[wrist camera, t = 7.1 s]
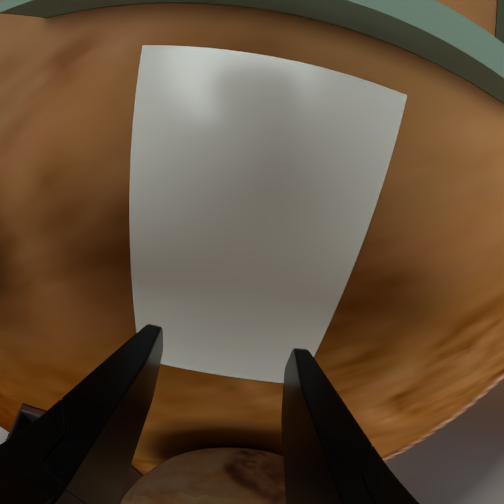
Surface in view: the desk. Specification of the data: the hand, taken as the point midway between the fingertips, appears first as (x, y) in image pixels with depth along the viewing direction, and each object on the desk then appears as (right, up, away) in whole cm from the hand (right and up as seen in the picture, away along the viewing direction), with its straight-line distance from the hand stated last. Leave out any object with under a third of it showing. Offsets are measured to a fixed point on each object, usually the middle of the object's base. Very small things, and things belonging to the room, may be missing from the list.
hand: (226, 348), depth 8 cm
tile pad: (0, +3, +4) cm, 5 cm away
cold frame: (+4, +19, -5) cm, 20 cm away
